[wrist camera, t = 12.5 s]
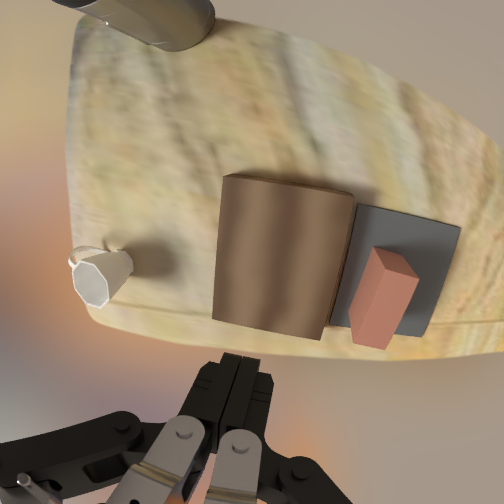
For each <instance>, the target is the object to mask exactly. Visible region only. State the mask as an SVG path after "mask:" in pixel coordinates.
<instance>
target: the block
mask: <svg viewBox="0 0 504 504" xmlns="http://www.w3.org/2000/svg"><path fill="white" fill-rule="evenodd" d="M418 282H419V278H418V276H417V275H416V274H415V272H414V271H413V269H412V268H411V267H410V265H409V264H408V263H407V261H406V260H405V259H404V257H403V256H402V255H400V254H396V253H393V252H390V251H387V250H383V249H380V248H377V247H372V250H371V253H370V256H369V259H368V261H367V264H366V267H365V270H364V272H363V275H362V278H361V280H360V283H359V285H358V288H357V291H356V293H355V296H354V298H353V301H352V303H351V305H350V308H349V310H348V312H349V318H350V325H351V331H352V338H353V343H355V344H360V345H364V346H369V347H373V348H378V349H382V350H385V349H386V347H387V345H388V344H389V342H390V340H391V338H392V336H393V334H394V332H395V330H396V328H397V326H398V325H399V323H400V321H401V318H402V316H403V314H404V312H405V310H406V308H407V306H408V304H409V302H410V300H411V297H412V295H413V293H414V291H415V288H416V286H417V284H418Z"/></svg>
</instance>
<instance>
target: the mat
mask: <svg viewBox="0 0 504 504" xmlns="http://www.w3.org/2000/svg"><path fill="white" fill-rule="evenodd" d="M459 231H460V228H459V227H455V226H452V225H448V224H444V223H440V222H436V221H433V220H429V219H425V218H420V217H416V216H412V215H408V214H404V213H399V212H395V211H391V210H386V209H382V208H377V207H372V206H368V205H363V204H358V205H357V210H356V215H355V220H354V225H353V230H352V235H351V239H350V244H349V248H348V252H347V257H346V261H345V265H344V269H343V273H342V277H341V281H340V285H339V289H338V293H337V296H336V300H335V304H334V307H333V311H332V314H331V318H330V321H329V324H330V325H336V326H342V327H349V328H351V325H350V318H349V312H348V310H349V308H350V305H351V303H352V301H353V298H354V296H355V293H356V291H357V288H358V285H359V283H360V280H361V278H362V275H363V272H364V270H365V267H366V264H367V261H368V259H369V256H370V253H371V250H372V247H377V248H380V249H383V250H387V251H390V252H393V253H396V254H400V255H402V256H403V257H404V259H405V260H406V261H407V263H408V264H409V265H410V267H411V268H412V269H413V271H414V272H415V274H416V275H417V276H418V278H419V282H418V284H417V286H416V288H415V291H414V293H413V295H412V297H411V300H410V302H409V304H408V306H407V308H406V310H405V312H404V314H403V316H402V318H401V321H400V323H399V325H398V326H397V328H396V330H395V332H394V334H398V335H406V336H415V337H422V335H423V333H424V331H425V328H426V326H427V324H428V322H429V319H430V317H431V314H432V312H433V309H434V307H435V304H436V302H437V299H438V297H439V294H440V291H441V289H442V286H443V283H444V280H445V277H446V274H447V271H448V268H449V265H450V262H451V259H452V256H453V252H454V249H455V246H456V242H457V239H458V235H459Z"/></svg>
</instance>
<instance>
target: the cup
mask: <svg viewBox="0 0 504 504" xmlns="http://www.w3.org/2000/svg"><path fill="white" fill-rule="evenodd" d="M80 251H89V252H94V253H98V255H95V256H92V257H88V258H85V259H82V260H79V262H78V263H76V262H74V261H73V260H72V259H71V257H72V256H73V255H74V254H76V253H77V252H80ZM69 264H70V266H71V267H72V268H73V270H72V276H73V282H74V289H75V290H76V291H77V293H78V294H79V295H80V297H81V298H82V299H83V301H84V302H85V303H86V304H87V305H90V306H93V307H96V308H99V309H101V308H102V307H103V306H104V305H105V304H106V303H107V302H108V301H110V299H111V298H112V297H113V296H114V295H115V293H116V292H117V291H118V290H119V289H120V287H121V286H122V285H123V284H124V283H125V281H126V280H127V278H128V277H129V275H130V274H131V273H132V272H133V271H134V268H133V260H132V258H131V257H130V256H129V254H128V253H127V252H126V251H122V250H116V251H115V252H109V251H106V250H103V249H100V248H96V247H91V246H79V247H77V248H75V249H73V251H72V252H71V253H70V255H69Z"/></svg>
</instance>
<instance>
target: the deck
mask: <svg viewBox="0 0 504 504" xmlns="http://www.w3.org/2000/svg"><path fill="white" fill-rule="evenodd" d="M354 198H355V197H354V196H353V195H352V194H351V193H347V192H342V191H337V190H332V189H326V188H321V187H315V186H309V185H303V184H297V183H291V182H285V181H278V180H272V179H265V178H258V177H250V176H243V175H235V174H229V175H226V176H223V184H222V194H221V205H220V216H219V228H218V240H217V253H216V267H215V281H214V296H213V313H212V319H214V320H219V321H223V322H227V323H232V324H236V325H241V326H246V327H250V328H255V329H260V330H265V331H270V332H275V333H280V334H285V335H291V336H296V337H302V338H307V339H313V340H319V341H320V339H321V336H322V332H323V329H324V325H325V322H326V318H327V315H328V311H329V307H330V304H331V300H332V296H333V292H334V289H335V285H336V281H337V277H338V273H339V268H340V264H341V260H342V256H343V251H344V247H345V242H346V238H347V233H348V228H349V224H350V219H351V214H352V208H353V203H354Z"/></svg>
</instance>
